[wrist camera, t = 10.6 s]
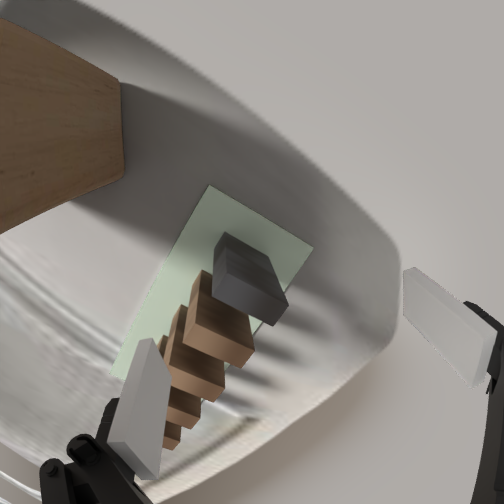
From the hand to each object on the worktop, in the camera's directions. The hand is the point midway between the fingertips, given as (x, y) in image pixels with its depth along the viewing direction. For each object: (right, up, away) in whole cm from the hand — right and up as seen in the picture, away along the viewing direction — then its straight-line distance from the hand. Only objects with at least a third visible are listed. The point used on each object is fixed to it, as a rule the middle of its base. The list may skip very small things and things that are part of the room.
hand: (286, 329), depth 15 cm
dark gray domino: (-3, +4, +16) cm, 16 cm away
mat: (-7, -3, +18) cm, 20 cm away
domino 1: (-5, 0, +17) cm, 18 cm away
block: (-18, +15, +11) cm, 26 cm away
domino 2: (-7, -4, +18) cm, 20 cm away
